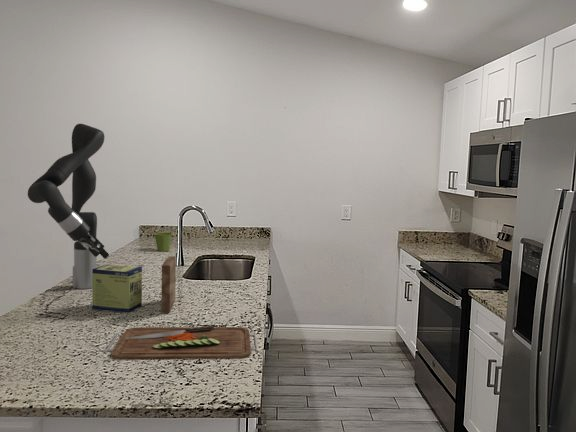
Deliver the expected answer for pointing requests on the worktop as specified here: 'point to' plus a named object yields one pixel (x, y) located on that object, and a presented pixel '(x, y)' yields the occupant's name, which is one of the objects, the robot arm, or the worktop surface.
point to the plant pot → (163, 241)
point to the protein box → (117, 288)
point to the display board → (168, 284)
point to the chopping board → (183, 343)
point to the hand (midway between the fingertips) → (102, 256)
